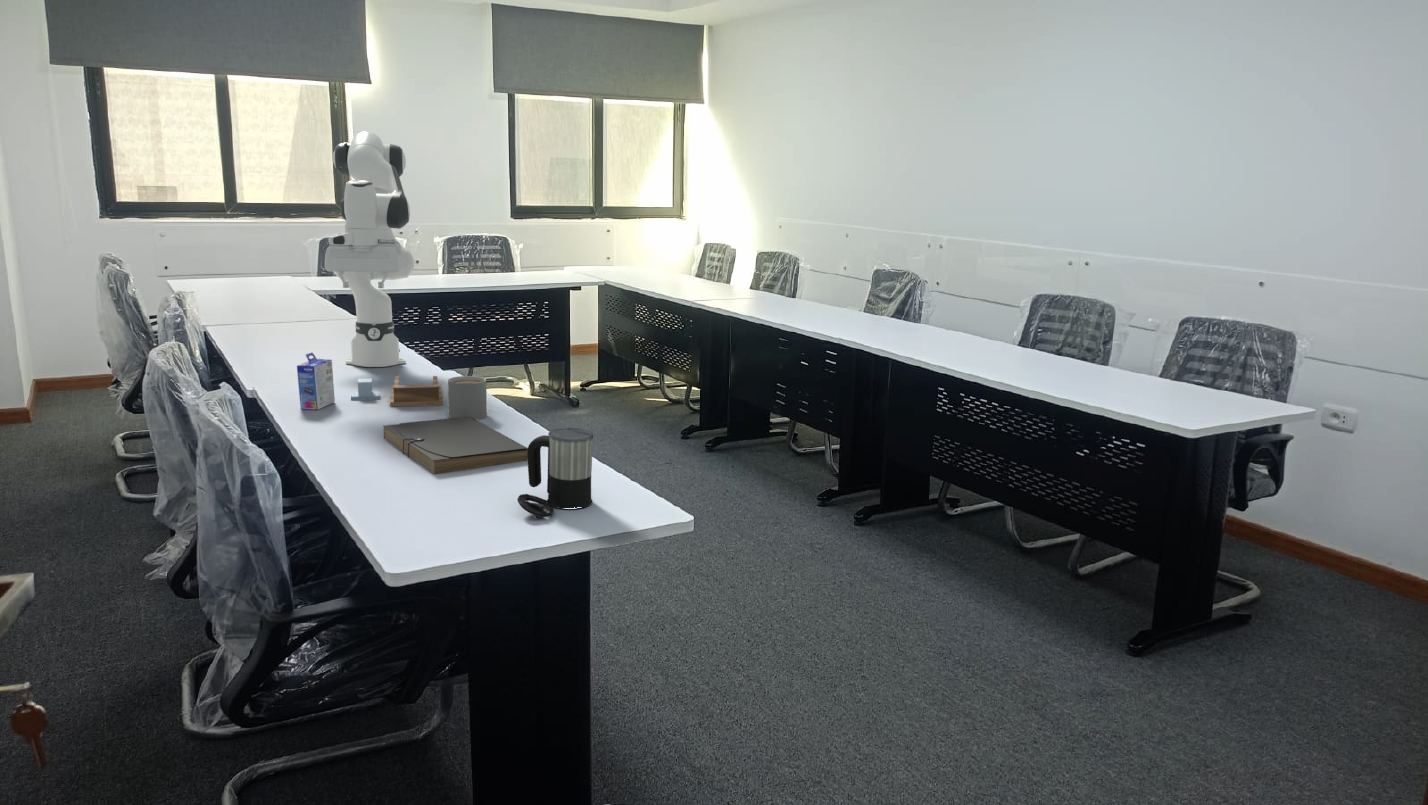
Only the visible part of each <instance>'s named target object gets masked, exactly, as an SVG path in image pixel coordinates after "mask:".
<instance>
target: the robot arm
mask: <svg viewBox="0 0 1428 805" xmlns="http://www.w3.org/2000/svg"><path fill="white" fill-rule="evenodd" d="M334 148H335V149H334V151H333V153H332V163H333V166H334V167H335V171H336V172H337V173H338V175H339V174H340V176H345V177H350V176H351V177H352V179H353V180H349V181H347V182H346V183H345V187H344V197H343V198H342V199H341V200H340V208H341V211H340V212H341V218H342V219H343V220H344V221H345V224H344V232H343V233H338V234H337V235H333V236H330V237H328V242H327V243H328V244H329V246H328V247H327V248H326V249H325V255H324V269H325V271H327V272H332V273H334V275H335V276H337V277H338V278H339V280H341V282H342V288H343V289H349V290H350V292H352V296H353V298H354V304H355V312H356V321H355V325H354V328H355V333H356V334H355V335H354V336H353V337H352V338H351V339H350V340H351V341H350V344H351V346H350V347H351V349H350V351H351V352H350V353H351V357H349V358H348V359H346V360H345V364H346V365H353V366H358V367H367V368H382V367H384V368H385V367H392V366H396V365H403V364H406V359H405V358H404V357H403V356H402V355H401V354H400V351H401V350H400V346H399V345H400V344H399V343H400V342H399V340H400V339H399V338H398V337H397V336H396V335H395V333H394V332H395V325H394V324H395V323H394V321H393V312H392V310H393V307H392V299H391V297H390V296H389V295H388V294H387V293H386V292H384V291H383V290H380V289H385V284H384V283H385V282H386V280H387V281H395V280H400V279H405V278H406V279H407V278H408V277H409V276H411V274H412V273H413V271H414V267H415V259H414V257H413V255H412V253H411V251H410V250H409V249H408V248H407V247H405V246H403V245H402V244H401V243H400V242H399V241H398V240H397V238H396V237H395V235H394V232H393V229H398V230H400V229H402V228H403V227H405V226H406V225H407V224H408V223H409V221H410V217H411V207H410V204H409V201H408V200H407V196H406V194H405V192H404V188H403V185H402V182H401V179H400V177H401V176H402V175H403V173H404V171H405V168H406V165H407V159H406V155H405V153H404V151H403V149H402V147H401V146H400V145H397V144H392V143H389V144H386V143H383V141H382V139H381V138H380V136H378V135H377V134H376V133H374V132H372V131H361V132H357V134H355V136H354V137H353V138H352V140H351V142H350V143H349V142H348V141H346V142H342V143H338V144H337V145H336V146H335V147H334ZM373 280H374V281H375V280H378V282H377V285H378V287H377V288H376V287H374V286H373V284H372V283H371V281H373ZM380 280H381V281H380Z"/></svg>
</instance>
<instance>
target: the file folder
mask: <svg viewBox="0 0 1428 805" xmlns="http://www.w3.org/2000/svg"><path fill="white" fill-rule="evenodd" d="M382 427H383V439H385V440H386V441H388V442H389V443H390V444H391V443H392V445H393V446H395V447H396V448H397V449H398V450H399V451H402V454H405V453H406V454H408V458H410V457H411V458H413V460H415V461H418V462H419V463H421V464H422V465H423V466H425V467H426V468H428V470H429V471H430V472H432V473H433V474H434V475H437V474H443V473H444V474H445V473H453V472H457V471H465V470H472V469H476V468H483V467H489V466H490V467H491V466H496V465H503V464H510V463H516V461H517V462H521V460H522V461H528V457H527V449H528V447H527V446H524V444H521V443H519V442H517V441H516V440H513V439H512V438H511V437H508V436H507V435H505V434H502V432H501V433H500V432H499V431H497V430H496V429H493V428H491V427H489V426H488V425H486V424H484V423H482V422H481V421H479V420H475V419H473V418H472V417H459V418H450V417H449V418H443V419H442V418H440V419H438V418H437V419H430V420H421V421H420V420H419V421H407V422H400V423H395V424H386V425H384V424H383V425H382Z"/></svg>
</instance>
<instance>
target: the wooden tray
mask: <svg viewBox="0 0 1428 805" xmlns="http://www.w3.org/2000/svg"><path fill="white" fill-rule="evenodd" d="M432 383H433V384H431V383H430V384H427V383H425V384H400V376H394V383H393V384H391V390H390V399H389V407H419V406H420V407H424V406H432V407H433V406H443V404H444V402H443V393H442V384H440V383H439V381H438V375H432Z"/></svg>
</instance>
